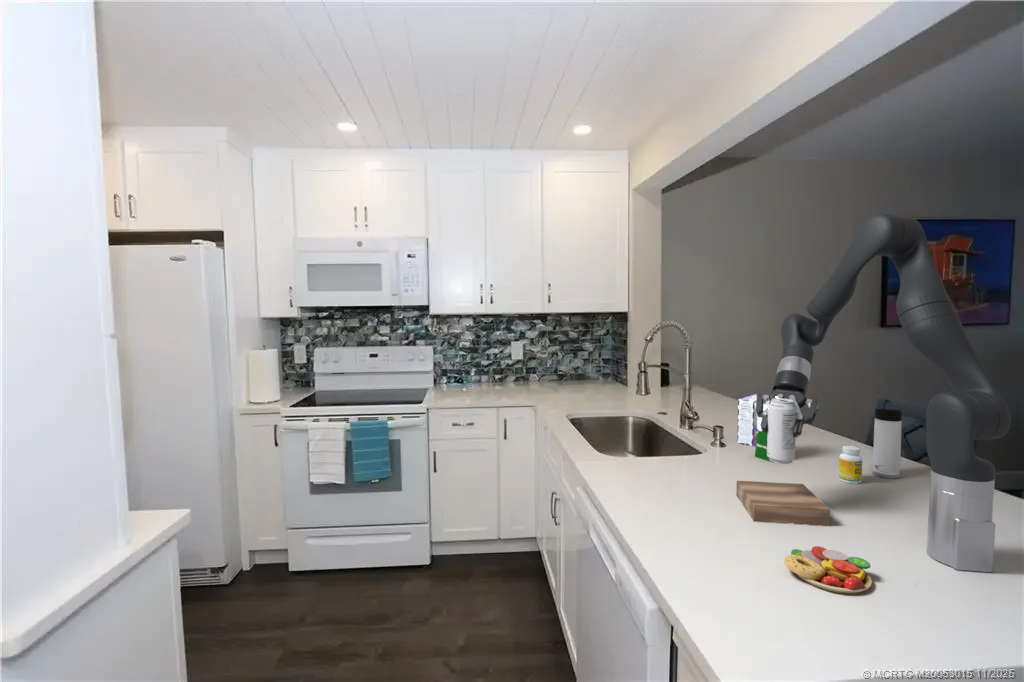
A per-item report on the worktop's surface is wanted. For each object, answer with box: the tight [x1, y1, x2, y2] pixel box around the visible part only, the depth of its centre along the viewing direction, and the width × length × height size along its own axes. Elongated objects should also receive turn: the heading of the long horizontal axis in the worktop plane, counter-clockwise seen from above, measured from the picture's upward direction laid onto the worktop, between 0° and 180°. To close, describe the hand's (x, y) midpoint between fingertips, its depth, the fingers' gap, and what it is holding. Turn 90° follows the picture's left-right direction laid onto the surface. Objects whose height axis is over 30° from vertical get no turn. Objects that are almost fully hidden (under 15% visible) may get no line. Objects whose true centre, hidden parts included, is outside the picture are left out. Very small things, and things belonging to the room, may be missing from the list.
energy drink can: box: [767, 398, 797, 465], centre depth 121 cm, size 6×6×15 cm
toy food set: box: [783, 545, 873, 595], centre depth 93 cm, size 13×13×3 cm
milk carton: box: [754, 401, 773, 463], centre depth 161 cm, size 9×9×20 cm
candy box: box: [736, 393, 770, 447], centre depth 181 cm, size 14×6×16 cm, turn 130°
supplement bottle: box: [838, 445, 863, 485], centre depth 140 cm, size 5×5×10 cm
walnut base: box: [735, 480, 831, 527], centre depth 122 cm, size 16×16×4 cm
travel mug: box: [872, 408, 903, 480], centre depth 143 cm, size 6×7×20 cm
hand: (779, 432), depth 119 cm, fingers closed on energy drink can, 6 cm apart
